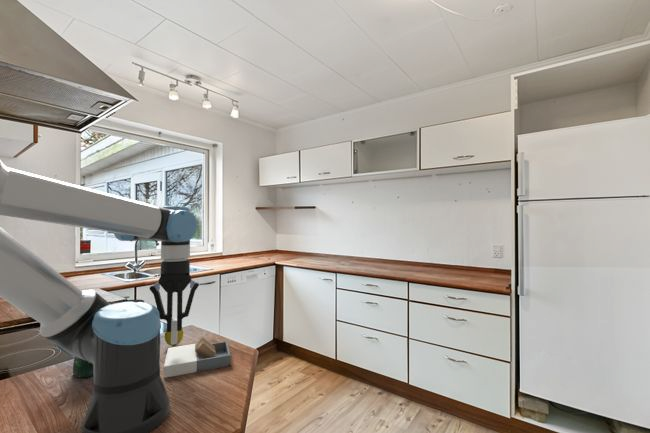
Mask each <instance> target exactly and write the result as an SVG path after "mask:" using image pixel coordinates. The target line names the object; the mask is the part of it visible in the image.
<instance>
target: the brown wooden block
mask: <svg viewBox="0 0 650 433" xmlns="http://www.w3.org/2000/svg"><path fill="white" fill-rule="evenodd" d="M196 342H197V343H194V344H195V352H196V353H198V354H199V355H200V356H201V357H203V358H204V359H206V358H212V357H213V356H214V355H215V354H216V351H215V346H213V345H212V343H211V342H210V341H209V340H207V339H206V338H205V337H204V336H202V337H201V338H200V339H199V340H198V341H196Z"/></svg>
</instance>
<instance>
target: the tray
mask: <svg viewBox="0 0 650 433" xmlns="http://www.w3.org/2000/svg"><path fill="white" fill-rule="evenodd" d="M211 344H212V345H213V346H215V351H216V354H215V355H214V356H213V357H212V358H206V359H204V358H203V357H201V356H200V355H199V354H198V353H197V372H196V373H198V372H204V371H208V370H215V369H220V368H224V367H230V366H231V352H230V348H229V343H228V341H227V340H225V341H221V342H219V341H218V342H214V343H213V342H212V343H211Z"/></svg>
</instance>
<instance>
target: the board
mask: <svg viewBox="0 0 650 433" xmlns="http://www.w3.org/2000/svg"><path fill="white" fill-rule="evenodd" d="M195 344H196V343H191V344H185V345H179V346H177V345H176V346H175V347H173V346H171V347H168V348H167V352H166V355H165V356H166V357H165V360H164V364H163V378H164V379H165V378H172V377H177V376H181V375H186V374H187V375H188V374H192V373H198V372H197V353H196V352H195Z"/></svg>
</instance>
